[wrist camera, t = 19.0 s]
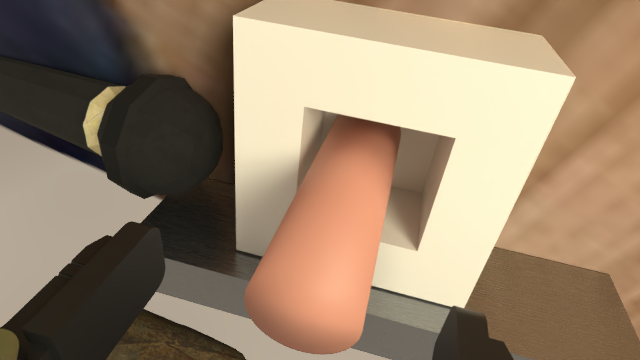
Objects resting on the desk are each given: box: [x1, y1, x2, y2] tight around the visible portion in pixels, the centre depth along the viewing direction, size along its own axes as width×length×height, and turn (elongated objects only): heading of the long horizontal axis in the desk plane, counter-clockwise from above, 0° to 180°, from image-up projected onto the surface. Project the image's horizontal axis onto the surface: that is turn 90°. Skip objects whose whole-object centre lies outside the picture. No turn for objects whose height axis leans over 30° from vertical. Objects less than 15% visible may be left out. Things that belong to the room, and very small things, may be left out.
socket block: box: [233, 0, 576, 308], centre depth 17 cm, size 10×10×5 cm
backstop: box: [140, 178, 640, 360], centre depth 19 cm, size 22×2×6 cm, turn 83°
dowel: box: [244, 114, 401, 354], centre depth 14 cm, size 3×3×10 cm
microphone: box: [0, 56, 223, 199], centre depth 20 cm, size 6×6×20 cm
